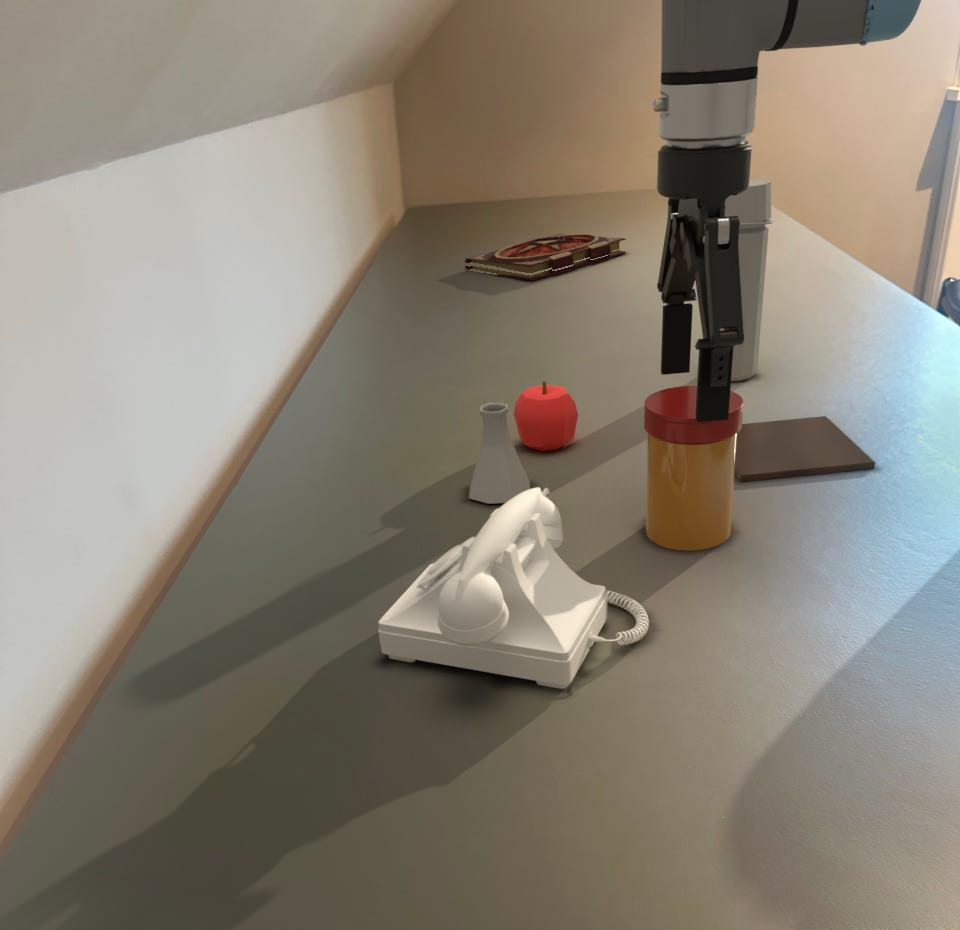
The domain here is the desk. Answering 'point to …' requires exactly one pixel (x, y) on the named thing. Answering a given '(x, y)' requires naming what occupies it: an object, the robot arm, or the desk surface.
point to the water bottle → (750, 269)
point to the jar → (690, 493)
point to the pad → (796, 449)
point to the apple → (545, 417)
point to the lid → (688, 417)
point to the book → (548, 255)
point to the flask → (497, 460)
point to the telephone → (506, 602)
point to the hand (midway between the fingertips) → (692, 395)
